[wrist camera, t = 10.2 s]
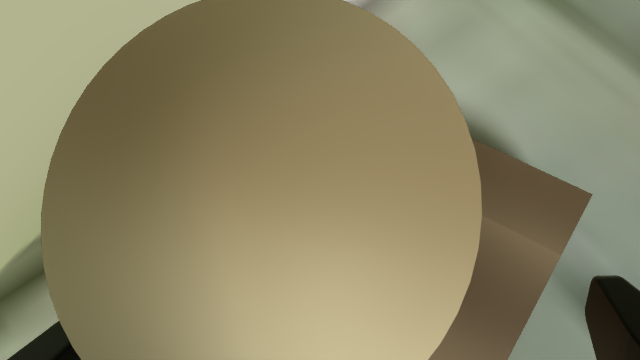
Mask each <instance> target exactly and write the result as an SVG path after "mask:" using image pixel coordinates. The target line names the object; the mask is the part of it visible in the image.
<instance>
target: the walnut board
mask: <svg viewBox="0 0 640 360" xmlns="http://www.w3.org/2000/svg"><path fill="white" fill-rule="evenodd" d="M471 139H472V138H471ZM472 142H473V145H474V148H475V152H476V157H477V163H478V169H479V174H480V180H481V201H482V220H481V229H480V239H479V249H478V253H477V257H476V261H475V265H474V269H473V273H472V277H471V281H470V284H469V286H468V289H467V291H466V294H465V296H464V299H463V301H462V304H461V306H460V309H459V311H458V314H457V315H456V317H455V319H454V321H453V322H452V324H451V326H450V328H449V329H448V331H447V333H446V335H445V336H444V338H443V340H442V342H441V343H440V345H439V346H438V347H437V349H436V350H435V351H434V352H433V354H432V355H431V356H430V358H429V359H428V360H508V358H509V356H510V354H511V352H512V350H513V348H514V346H515V344H516V342H517V340H518V338H519V336H520V334H521V332H522V330H523V328H524V327H525V325H526V323H527V321H528V319H529V317H530V315H531V313H532V311H533V309H534V307H535V305H536V303H537V301H538V299H539V297H540V295H541V293H542V292H543V290H544V288H545V286H546V284H547V282H548V280H549V278H550V276H551V274H552V272H553V270H554V268H555V266H556V264H557V262H558V260H559V258H560V257H561V255H562V253H563V251H564V249H565V247H566V245H567V243H568V241H569V239H570V237H571V235H572V233H573V231H574V229H575V227H576V225H577V224H578V222H579V220H580V218H581V216H582V214H583V212H584V210H585V208H586V206H587V204H588V202H589V200H590V198H591V196H592V194H591V193H588V192H586V191H584V190H582V189H580V188H578V187H575V186H573V185H571V184H569V183H567V182H565V181H563V180H560V179H558V178H556V177H554V176H552V175H550V174H547V173H545V172H543V171H541V170H539V169H537V168H535V167H532V166H530V165H528V164H526V163H524V162H522V161H519V160H517V159H515V158H513V157H511V156H509V155H507V154H504V153H502V152H500V151H498V150H496V149H494V148H491V147H489V146H487V145H485V144H483V143H481V142H478V141H476V140H474V139H472Z"/></svg>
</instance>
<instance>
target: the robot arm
mask: <svg viewBox="0 0 640 360" xmlns="http://www.w3.org/2000/svg"><path fill="white" fill-rule="evenodd" d="M585 317H586V322H587V325H588V329H589V333H590V337H591V340H592V344H593V348H594V351H595V355H596V359H597V360H640V291H639V290H638V289H637V288H635V287H634V286H633V285H631V284H630V283H629V282H628V281H626V280H625V279H624V278H622V277H620V276H595V277H594V278H593V279H592V281H591V284H590V288H589V293H588V297H587V302H586V306H585ZM8 360H81V358H80V357H79V356H78V354H77V353H76V351H75V350H74V348H73V347H72V345H71V343H70V341H69V339H68V337H67V335H66V333H65V331H64V329H63V327H62V325H61V323H60V321H58V322H57V323H56V324H54V325H53V326H52V327H50V328H49V329H48V330H46V331H45V332H44V333H42V334H41V335H40V336H38V337H37V338H36V339H34V340H33V341H32V342H30V343H29V344H28V345H26V346H25V347H24V348H22V349H21V350H20V351H18V352H17V353H16V354H14V355H13V356H12V357H10V358H9V359H8Z"/></svg>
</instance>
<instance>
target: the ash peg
mask: <svg viewBox="0 0 640 360" xmlns="http://www.w3.org/2000/svg"><path fill="white" fill-rule="evenodd" d="M481 220H482V201H481V180H480V174H479V169H478V163H477V157H476V152H475V148H474V145H473V142H472V139H471V136H470V132H469V129H468V126H467V123H466V120H465V118H464V116H463V114H462V112H461V110H460V108H459V106H458V104H457V102H456V100H455V97H454V95H453V93H452V92H451V90H450V89H449V87H448V86H447V84H446V83H445V81H444V80H443V78H442V77H441V75H440V74H439V72H438V71H437V69H436V68H435V67H434V66H433V65H432V63H431V62H430V61H429V60H428V59H427V58H426V57H425V56H424V54H423V53H422V52H421V51H420V50H419V49H418V48H417V47H416V46H415V45H414V44H413V43H412V42H411V41H409V40H408V39H407V38H406V37H405V36H403V35H402V34H401V33H400V32H399V31H398V30H396V29H395V28H394V27H392V26H391V25H389V24H388V23H386V22H384V21H383V20H381V19H380V18H378V17H377V16H375V15H373V14H372V13H370V12H368V11H366V10H364V9H361V8H359V7H357V6H355V5H353V4H350V3H348V2H346V1H343V0H201V1H199V2H195V3H193V4H190V5H187V6H186V7H183V8H181V9H179V10H177V11H175V12H173V13H171V14H169V15H167V16H165V17H164V18H162V19H160V20H159V21H157V22H155V23H154V24H153V25H151V26H149V27H147V28H146V29H144V30H143V31H142V32H140V33H139V34H138V35H137V36H136V37H134V38H133V39H132V40H130V41H129V42H128V43H127V44H125V45H124V46H123V47H122V48H121V49H120V50H119V51H118V52H117V53H116V54H115V55H114V56H113V57H112V58H111V59H110V60H109V61H108V62H107V63H106V64H105V65H104V66H103V67H102V69H101V70H100V71H99V72H98V73H97V75H96V76H95V77H94V78H93V80H92V81H91V82H90V83H89V85H88V86H87V87H86V89H85V90H84V92H83V94H82V95H81V97H80V98H79V100H78V101H77V103H76V105H75V106H74V108H73V109H72V111H71V113H70V115H69V117H68V119H67V121H66V123H65V126H64V128H63V130H62V132H61V134H60V136H59V139H58V142H57V145H56V147H55V150H54V153H53V156H52V158H51V162H50V167H49V170H48V175H47V179H46V183H45V189H44V196H43V204H42V212H41V245H42V255H43V264H44V271H45V275H46V279H47V284H48V288H49V293H50V296H51V299H52V302H53V305H54V307H55V310H56V313H57V316H58V318H59V321H60V323H61V325H62V327H63V329H64V331H65V333H66V335H67V337H68V339H69V341H70V343H71V345H72V347H73V348H74V350H75V351H76V353H77V354H78V356H79V357H80V358H81V360H428V359H429V358H430V356H431V355H432V354H433V352H434V351H435V350H436V349H437V347H438V346H439V345H440V343H441V342H442V340H443V338H444V336H445V335H446V333H447V331H448V329H449V328H450V326H451V324H452V322H453V321H454V319H455V317H456V315H457V314H458V311H459V309H460V306H461V304H462V301H463V299H464V296H465V294H466V291H467V289H468V286H469V284H470V281H471V277H472V273H473V269H474V265H475V261H476V257H477V253H478V249H479V239H480V229H481Z"/></svg>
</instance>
